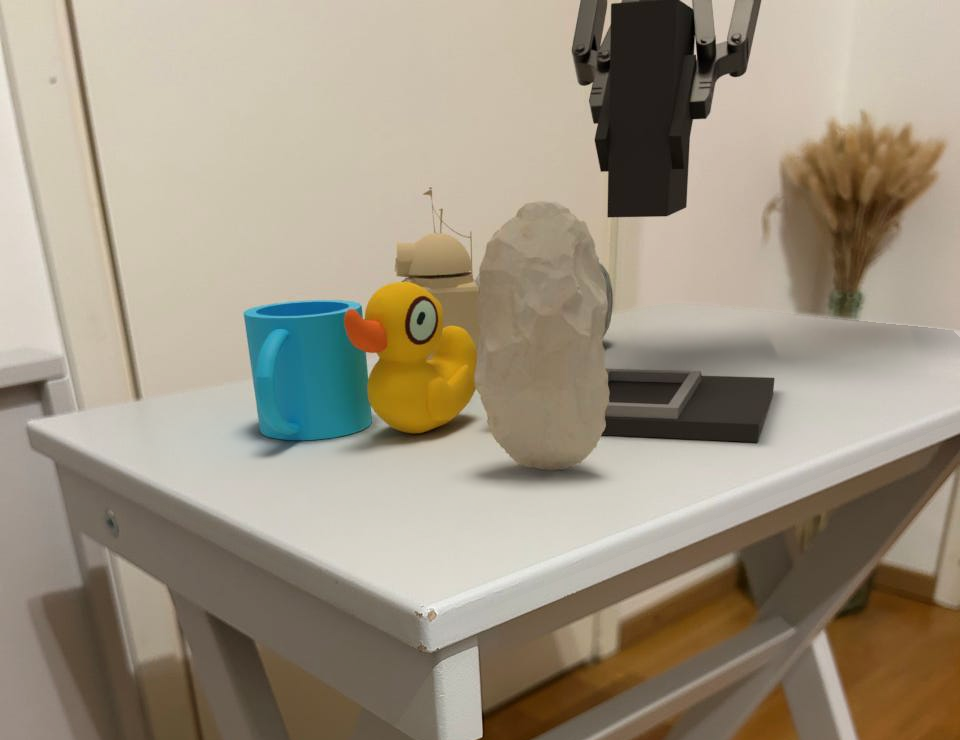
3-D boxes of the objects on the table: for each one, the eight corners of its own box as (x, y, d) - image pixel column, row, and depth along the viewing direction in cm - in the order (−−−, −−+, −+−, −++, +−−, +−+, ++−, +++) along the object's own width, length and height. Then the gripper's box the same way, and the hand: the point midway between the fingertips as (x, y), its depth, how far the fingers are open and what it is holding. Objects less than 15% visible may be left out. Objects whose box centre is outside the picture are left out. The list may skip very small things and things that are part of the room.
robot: (387, 370, 89) (372, 187, 83) (476, 364, 90) (469, 183, 83) (389, 395, 80) (373, 192, 73) (489, 389, 81) (482, 187, 74)
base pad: (773, 393, 76) (775, 366, 75) (757, 442, 64) (760, 411, 63) (545, 385, 81) (545, 360, 80) (492, 429, 69) (491, 401, 68)
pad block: (686, 207, 71) (696, 10, 66) (667, 216, 64) (677, -3, 59) (631, 208, 72) (636, 15, 67) (607, 217, 66) (610, 3, 60)
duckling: (388, 456, 64) (374, 294, 60) (332, 444, 68) (315, 289, 63) (499, 418, 72) (494, 272, 68) (444, 409, 75) (436, 269, 71)
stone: (611, 456, 62) (617, 195, 56) (606, 482, 58) (611, 201, 51) (488, 454, 64) (478, 200, 57) (473, 480, 59) (461, 206, 52)
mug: (286, 410, 77) (272, 300, 73) (386, 412, 75) (377, 299, 71) (214, 454, 67) (194, 328, 63) (328, 457, 65) (314, 328, 61)
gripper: (816, -74, 71) (777, 194, 64) (582, -50, 76) (524, 200, 70) (822, -188, 64) (778, 99, 57) (564, -152, 69) (498, 113, 63)
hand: (639, 153), depth 64 cm, fingers closed on pad block, 4 cm apart
